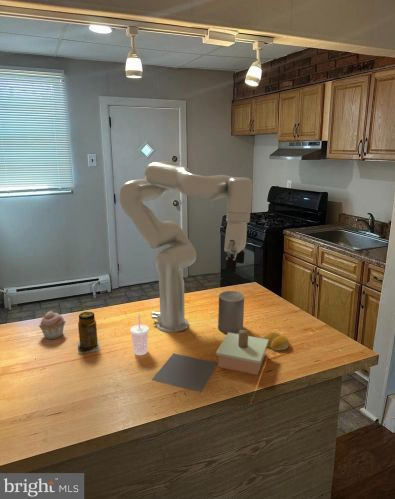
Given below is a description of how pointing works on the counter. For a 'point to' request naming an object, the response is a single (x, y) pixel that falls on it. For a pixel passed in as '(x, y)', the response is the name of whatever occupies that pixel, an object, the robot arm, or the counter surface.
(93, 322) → the condiment
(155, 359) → the counter surface
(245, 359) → the lid
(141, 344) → the beverage cup
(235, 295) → the pillar candle
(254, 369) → the open box
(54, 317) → the cupcake
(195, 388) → the mat
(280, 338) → the bread roll
